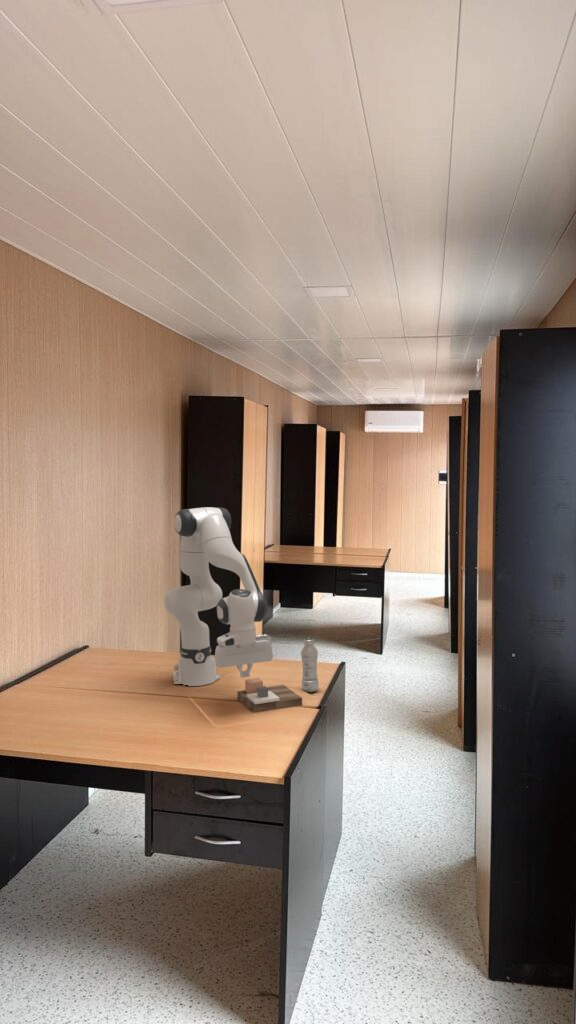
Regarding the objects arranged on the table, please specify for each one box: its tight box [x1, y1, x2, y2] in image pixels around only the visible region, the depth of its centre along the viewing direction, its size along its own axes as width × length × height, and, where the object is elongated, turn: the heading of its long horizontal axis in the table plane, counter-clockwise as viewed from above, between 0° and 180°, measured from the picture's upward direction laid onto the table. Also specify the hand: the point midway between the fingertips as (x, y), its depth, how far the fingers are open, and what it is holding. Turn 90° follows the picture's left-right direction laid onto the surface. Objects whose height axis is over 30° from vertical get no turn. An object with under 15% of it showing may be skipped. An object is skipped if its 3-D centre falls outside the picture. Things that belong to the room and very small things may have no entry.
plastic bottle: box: [300, 637, 320, 693], centre depth 280 cm, size 6×7×20 cm
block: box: [244, 677, 264, 694], centre depth 270 cm, size 5×5×7 cm
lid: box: [246, 685, 279, 704], centre depth 261 cm, size 9×9×4 cm
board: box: [236, 684, 303, 713], centre depth 267 cm, size 18×18×4 cm
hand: (245, 676), depth 258 cm, fingers closed
